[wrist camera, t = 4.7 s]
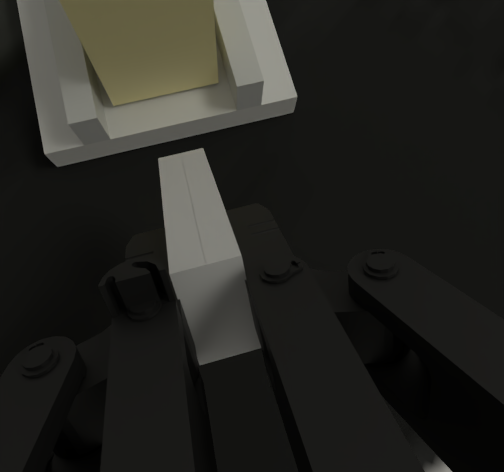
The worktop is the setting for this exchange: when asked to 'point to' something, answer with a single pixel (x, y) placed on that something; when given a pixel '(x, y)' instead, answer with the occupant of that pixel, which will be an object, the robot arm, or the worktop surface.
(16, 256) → the worktop surface
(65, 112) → the grey channel fixture
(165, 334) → the robot arm
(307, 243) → the worktop surface
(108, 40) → the grey-capped yellow block
